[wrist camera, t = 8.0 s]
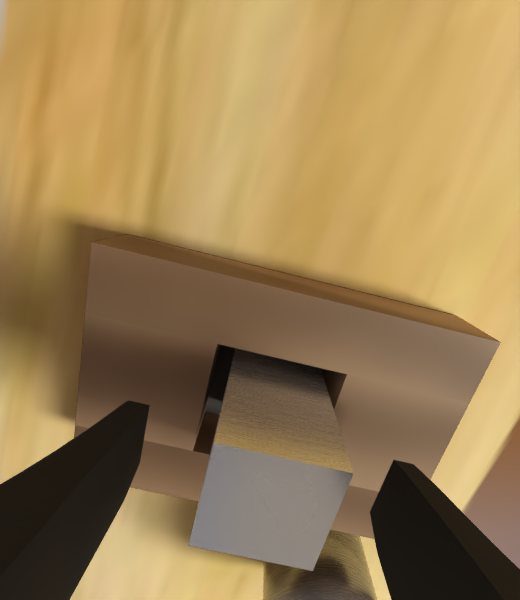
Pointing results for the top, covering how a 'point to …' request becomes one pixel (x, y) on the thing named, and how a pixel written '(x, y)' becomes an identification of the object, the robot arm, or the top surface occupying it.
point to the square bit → (273, 465)
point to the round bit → (324, 574)
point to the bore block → (272, 342)
